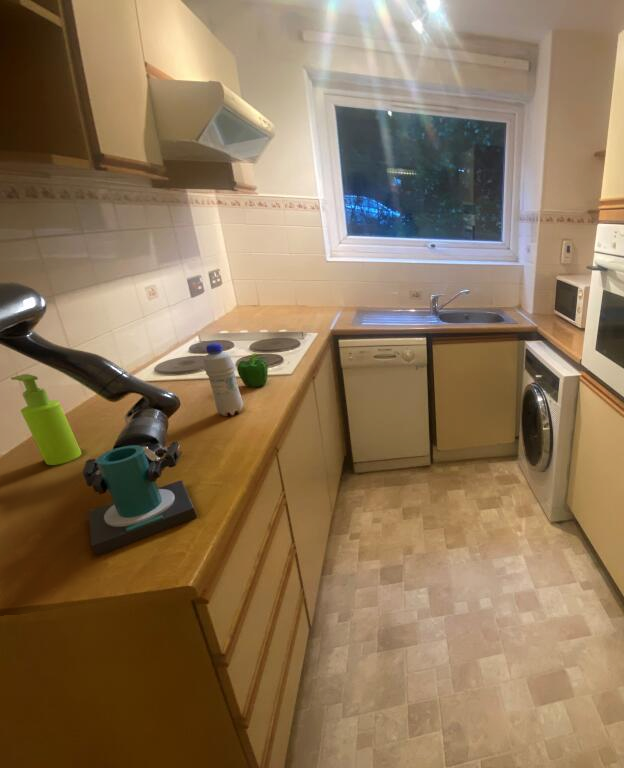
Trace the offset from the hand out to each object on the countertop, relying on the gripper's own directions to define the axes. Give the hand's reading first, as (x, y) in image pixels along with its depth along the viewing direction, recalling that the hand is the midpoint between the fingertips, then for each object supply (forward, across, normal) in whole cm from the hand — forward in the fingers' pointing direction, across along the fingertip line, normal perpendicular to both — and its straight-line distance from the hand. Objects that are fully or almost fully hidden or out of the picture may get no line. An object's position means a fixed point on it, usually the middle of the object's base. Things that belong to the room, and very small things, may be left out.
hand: (126, 483), depth 74 cm
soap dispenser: (-38, +20, -10) cm, 44 cm away
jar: (-2, 0, -6) cm, 7 cm away
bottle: (-45, -14, -10) cm, 48 cm away
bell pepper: (-64, -21, -10) cm, 68 cm away
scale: (-2, 0, -9) cm, 10 cm away
